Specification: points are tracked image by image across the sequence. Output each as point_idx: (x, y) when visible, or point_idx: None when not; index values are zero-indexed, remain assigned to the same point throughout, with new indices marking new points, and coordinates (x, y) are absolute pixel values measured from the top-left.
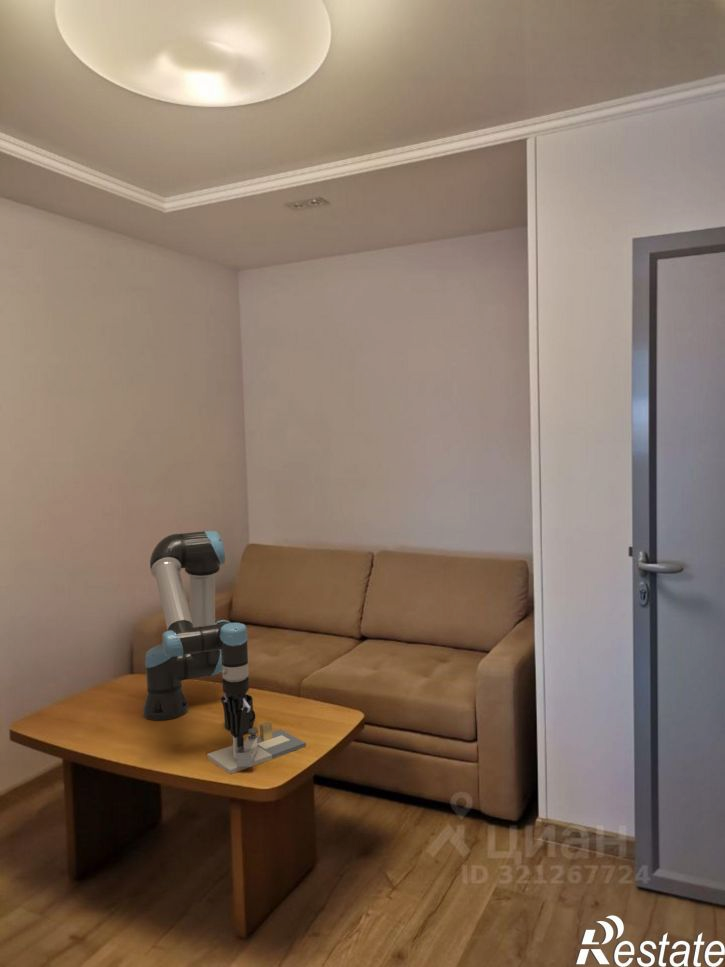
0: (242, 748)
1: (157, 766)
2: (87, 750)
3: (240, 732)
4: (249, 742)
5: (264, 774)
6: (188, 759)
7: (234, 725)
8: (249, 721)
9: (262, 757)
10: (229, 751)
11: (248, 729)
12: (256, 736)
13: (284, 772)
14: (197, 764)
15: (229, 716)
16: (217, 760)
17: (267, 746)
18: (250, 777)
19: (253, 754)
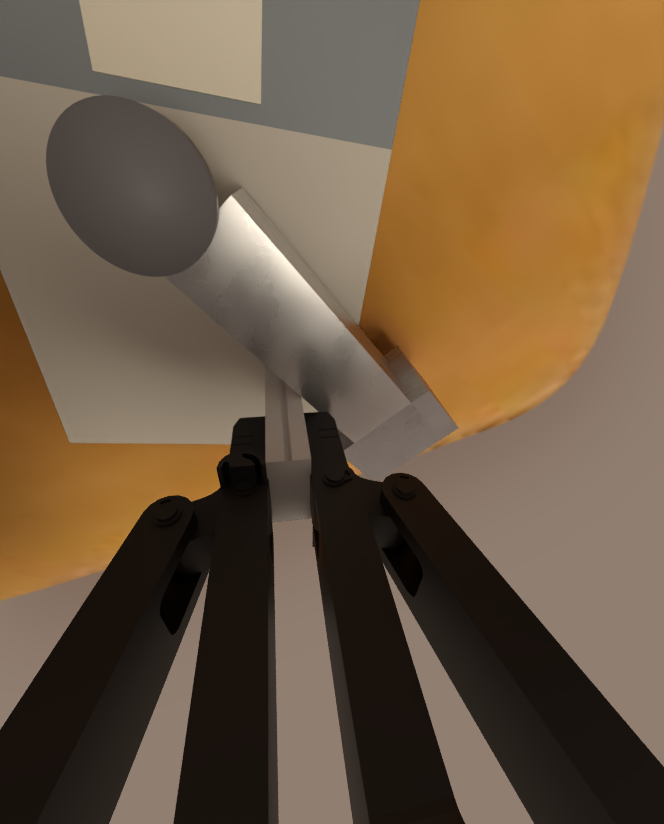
0: (357, 434)
1: (53, 568)
2: None
3: (405, 562)
4: (313, 349)
5: (475, 330)
6: (45, 486)
7: (272, 597)
8: (544, 629)
9: (363, 238)
10: (111, 341)
11: (452, 520)
12: (242, 211)
13: (567, 238)
14: (132, 479)
15: (132, 717)
16: (194, 439)
17: (229, 35)
18: (433, 389)
19: (416, 372)
